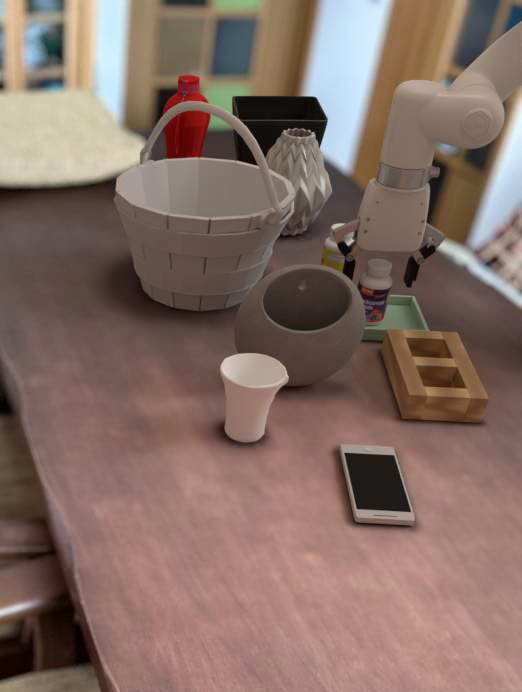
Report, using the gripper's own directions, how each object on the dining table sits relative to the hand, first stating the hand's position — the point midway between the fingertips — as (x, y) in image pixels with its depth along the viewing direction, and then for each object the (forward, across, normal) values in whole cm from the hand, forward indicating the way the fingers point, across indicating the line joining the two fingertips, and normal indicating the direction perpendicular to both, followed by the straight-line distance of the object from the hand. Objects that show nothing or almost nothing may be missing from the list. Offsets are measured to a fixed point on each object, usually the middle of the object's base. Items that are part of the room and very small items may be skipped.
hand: (377, 282), depth 135 cm
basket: (+7, +29, -11) cm, 32 cm away
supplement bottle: (+7, +4, -16) cm, 18 cm away
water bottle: (+7, +33, -51) cm, 61 cm away
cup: (+7, +22, +35) cm, 42 cm away
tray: (+7, 0, 0) cm, 7 cm away
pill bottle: (+7, 0, 0) cm, 7 cm away
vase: (+7, +11, -40) cm, 42 cm away
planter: (+7, +15, +22) cm, 28 cm away
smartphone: (+7, +6, +46) cm, 47 cm away
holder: (+7, -6, +20) cm, 22 cm away
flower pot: (+7, +13, -65) cm, 67 cm away
